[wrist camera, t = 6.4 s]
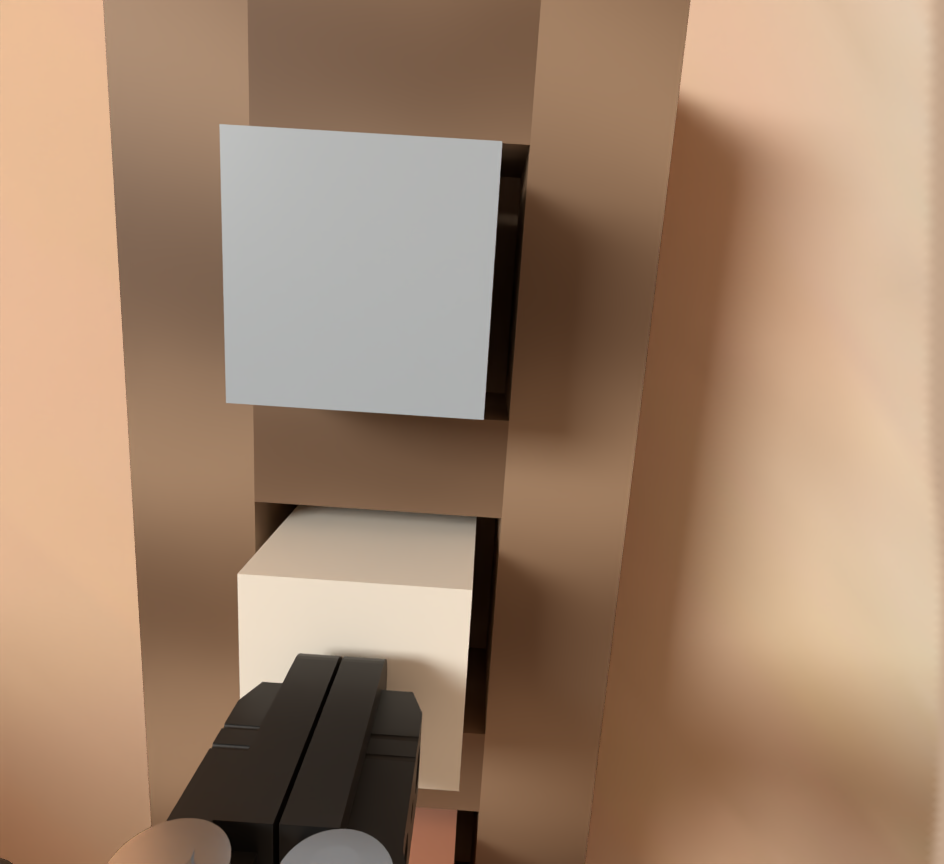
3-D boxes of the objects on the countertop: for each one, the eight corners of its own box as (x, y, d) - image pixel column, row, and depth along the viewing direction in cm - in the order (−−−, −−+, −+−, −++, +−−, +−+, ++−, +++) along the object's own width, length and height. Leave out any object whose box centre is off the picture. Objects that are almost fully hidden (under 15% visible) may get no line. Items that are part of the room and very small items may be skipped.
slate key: (484, 382, 14) (483, 419, 10) (300, 370, 14) (226, 402, 10) (498, 186, 13) (502, 141, 9) (301, 174, 13) (219, 123, 9)
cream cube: (466, 665, 16) (458, 791, 12) (303, 653, 16) (241, 775, 12) (477, 510, 15) (472, 590, 11) (304, 498, 15) (237, 573, 11)
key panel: (545, 917, 20) (559, 1071, 16) (227, 893, 20) (164, 1039, 16) (637, 73, 15) (690, -6, 11) (203, 47, 15) (100, -40, 11)
